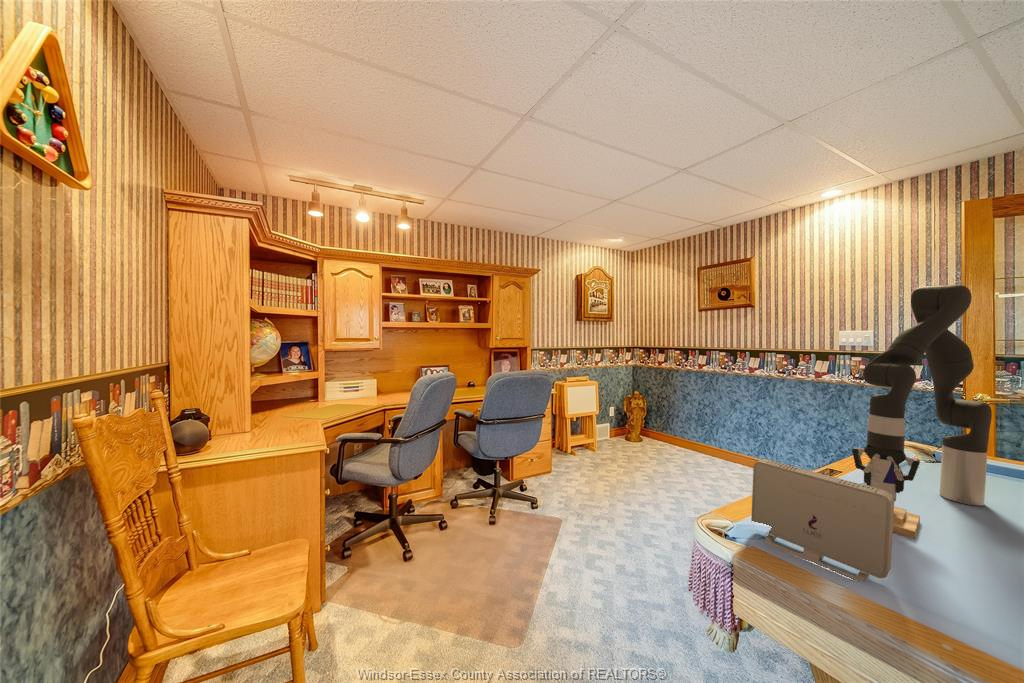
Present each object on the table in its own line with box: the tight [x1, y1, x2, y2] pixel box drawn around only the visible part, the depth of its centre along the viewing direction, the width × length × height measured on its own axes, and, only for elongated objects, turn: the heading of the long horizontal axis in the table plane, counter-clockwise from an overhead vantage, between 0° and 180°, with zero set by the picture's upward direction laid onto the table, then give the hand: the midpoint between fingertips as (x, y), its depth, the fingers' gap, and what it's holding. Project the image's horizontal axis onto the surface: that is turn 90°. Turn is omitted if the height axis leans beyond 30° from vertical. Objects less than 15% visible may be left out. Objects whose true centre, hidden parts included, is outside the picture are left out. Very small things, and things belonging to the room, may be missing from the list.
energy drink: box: [870, 458, 898, 503], centre depth 104 cm, size 5×5×12 cm
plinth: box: [893, 506, 921, 540], centre depth 104 cm, size 14×14×4 cm
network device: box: [750, 458, 895, 582], centre depth 87 cm, size 26×9×20 cm, turn 36°
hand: (882, 488), depth 104 cm, fingers closed on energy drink, 5 cm apart
